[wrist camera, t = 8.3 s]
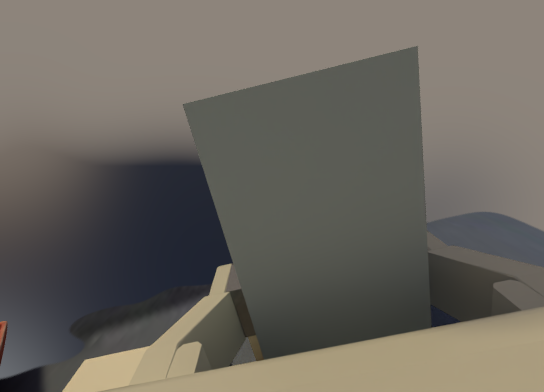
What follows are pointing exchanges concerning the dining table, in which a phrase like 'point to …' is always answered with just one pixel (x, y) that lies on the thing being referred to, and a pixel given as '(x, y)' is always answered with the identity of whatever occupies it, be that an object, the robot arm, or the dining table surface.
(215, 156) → the grey rectangular block
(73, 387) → the felt mat
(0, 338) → the plant saucer
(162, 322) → the dining table surface
